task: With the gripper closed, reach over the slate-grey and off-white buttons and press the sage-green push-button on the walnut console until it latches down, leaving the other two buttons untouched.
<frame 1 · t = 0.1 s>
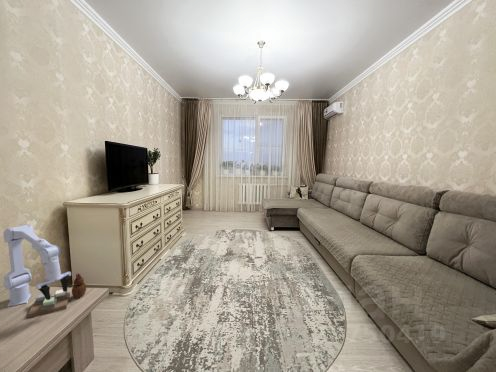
hand: (57, 295, 114), 10 cm above the table, tool pointing down, fingers open, 7 cm apart
console: (50, 305, 121), on the table
green button: (49, 301, 118), point 4 cm above the table, slide at 0.0 cm
white button: (60, 293, 126), point 4 cm above the table, slide at 0.0 cm
wooden figurine: (79, 296, 131), on the table
grey button: (42, 297, 122), point 4 cm above the table, slide at 0.0 cm
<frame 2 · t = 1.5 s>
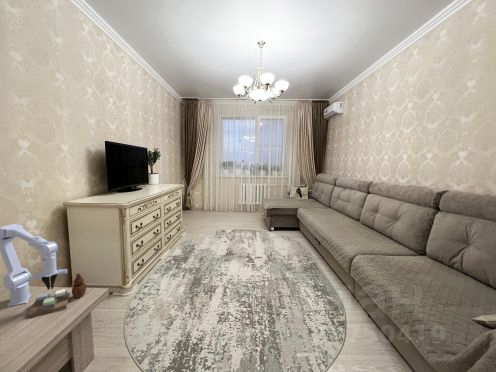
hand: (50, 288, 122), 9 cm above the table, tool pointing down, fingers closed
nothing on the table moved.
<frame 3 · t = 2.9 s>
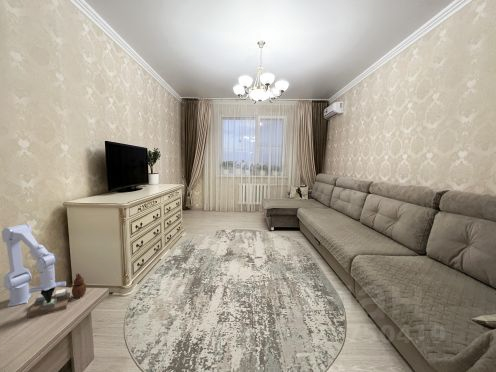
hand: (49, 301, 118), 4 cm above the table, tool pointing down, fingers closed, pressing on green button
green button: (49, 303, 118), point 3 cm above the table, slide at 1.0 cm, touching gripper
everything else where it was.
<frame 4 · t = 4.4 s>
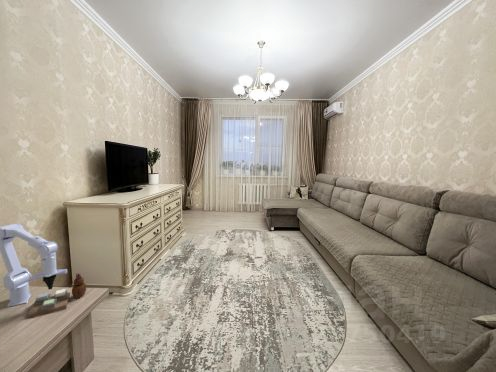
hand: (50, 288, 122), 9 cm above the table, tool pointing down, fingers closed
green button: (49, 303, 118), point 3 cm above the table, slide at 1.0 cm
everything else where it was.
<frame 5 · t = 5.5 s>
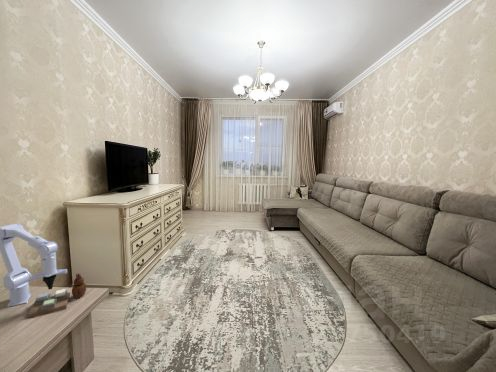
hand: (50, 288, 122), 9 cm above the table, tool pointing down, fingers closed
nothing on the table moved.
at the end: green button slide at 1.0 cm; grey button slide at 0.0 cm; white button slide at 0.0 cm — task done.
